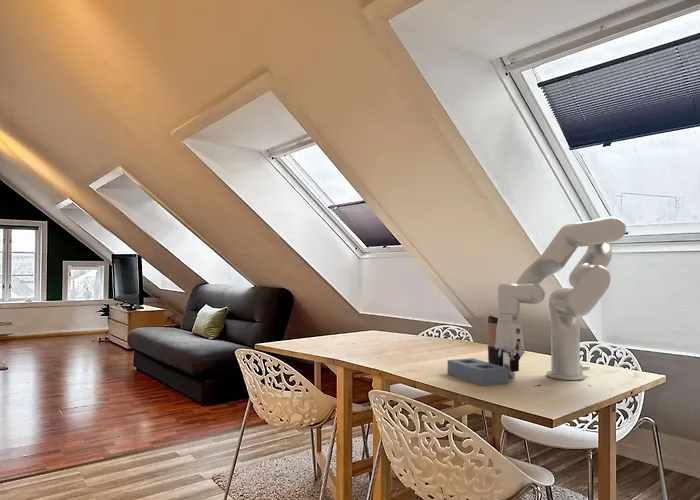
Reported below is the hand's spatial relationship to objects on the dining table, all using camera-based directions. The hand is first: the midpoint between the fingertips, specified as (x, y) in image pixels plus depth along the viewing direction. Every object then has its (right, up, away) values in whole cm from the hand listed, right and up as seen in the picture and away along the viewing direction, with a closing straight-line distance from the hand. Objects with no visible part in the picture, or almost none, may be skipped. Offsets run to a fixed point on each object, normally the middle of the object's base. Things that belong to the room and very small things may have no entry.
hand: (508, 369), depth 187 cm
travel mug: (+1, -4, +16) cm, 17 cm away
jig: (-12, -3, -2) cm, 12 cm away
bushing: (0, -3, 0) cm, 3 cm away
